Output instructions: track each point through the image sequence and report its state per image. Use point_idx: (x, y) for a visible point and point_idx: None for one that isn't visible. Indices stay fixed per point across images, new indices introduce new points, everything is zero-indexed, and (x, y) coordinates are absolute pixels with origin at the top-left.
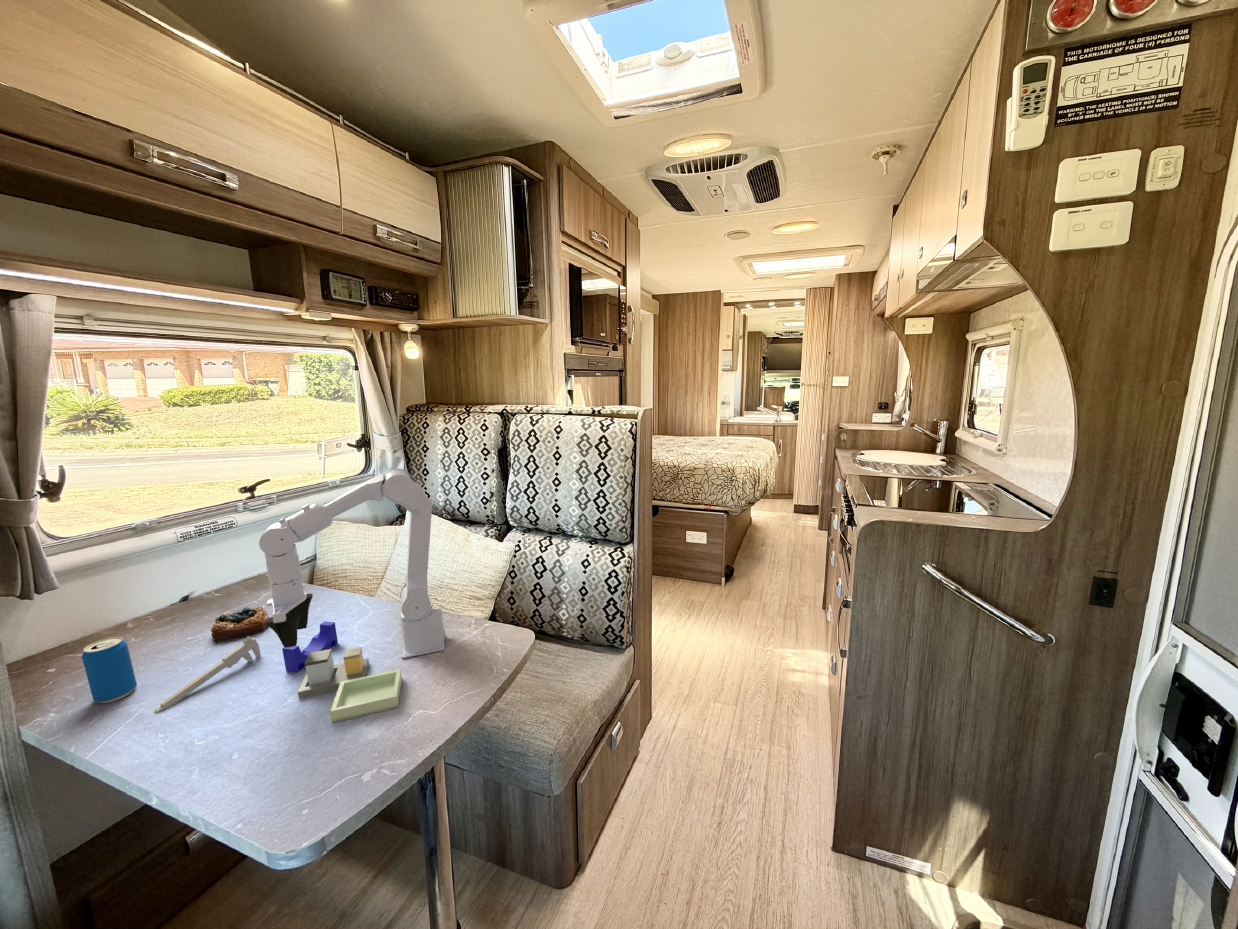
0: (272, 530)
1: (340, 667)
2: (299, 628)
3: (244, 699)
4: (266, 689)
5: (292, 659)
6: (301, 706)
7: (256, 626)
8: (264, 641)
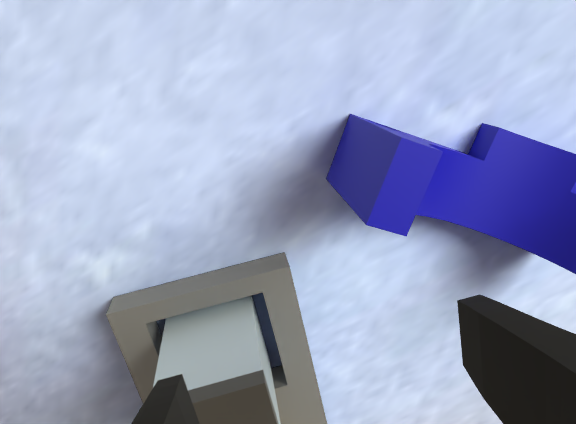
0: None
1: (285, 395)
2: (463, 330)
3: (124, 24)
4: (203, 97)
5: (351, 185)
6: (58, 335)
7: None
8: None
